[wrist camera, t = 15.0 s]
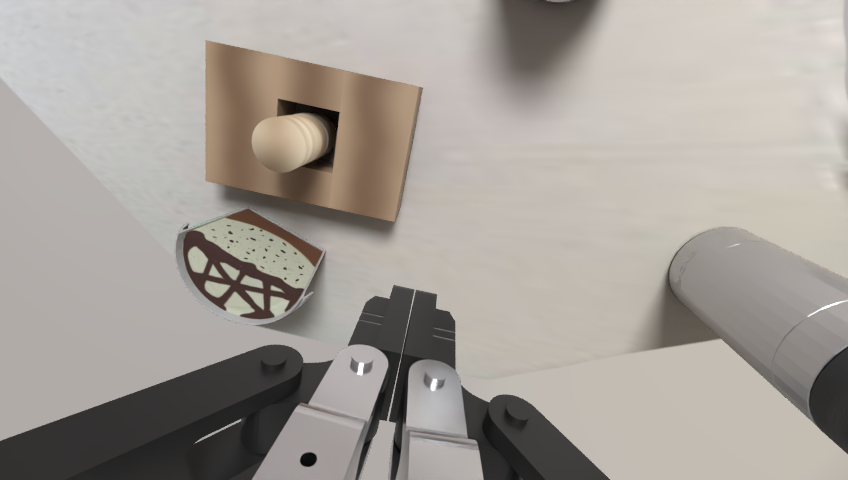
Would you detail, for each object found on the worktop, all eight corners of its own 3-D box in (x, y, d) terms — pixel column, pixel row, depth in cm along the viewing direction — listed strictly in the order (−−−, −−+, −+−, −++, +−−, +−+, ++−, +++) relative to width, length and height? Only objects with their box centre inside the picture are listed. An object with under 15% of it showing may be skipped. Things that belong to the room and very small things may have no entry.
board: (422, 87, 36) (419, 87, 32) (399, 210, 40) (394, 222, 37) (231, 45, 36) (205, 40, 32) (228, 172, 40) (205, 181, 37)
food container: (215, 244, 43) (149, 285, 34) (235, 198, 41) (171, 229, 32) (313, 298, 45) (277, 353, 36) (338, 257, 43) (305, 303, 33)
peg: (344, 115, 37) (308, 123, 28) (339, 157, 39) (302, 178, 30) (302, 106, 37) (252, 111, 28) (298, 149, 39) (249, 166, 30)
